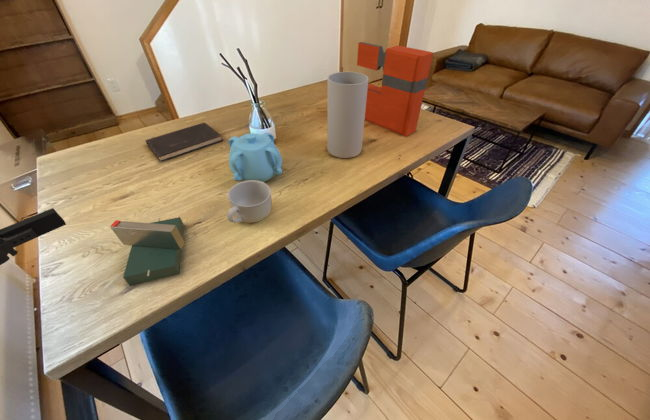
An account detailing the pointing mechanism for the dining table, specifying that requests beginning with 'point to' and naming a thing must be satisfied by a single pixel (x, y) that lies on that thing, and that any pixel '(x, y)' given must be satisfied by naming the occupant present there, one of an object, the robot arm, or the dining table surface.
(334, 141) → the cylinder vase
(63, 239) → the dining table surface
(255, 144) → the decorative pot
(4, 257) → the robot arm
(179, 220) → the green block
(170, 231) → the red-tipped metal bar
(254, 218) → the teacup
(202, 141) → the hardcover book
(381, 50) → the clamp
